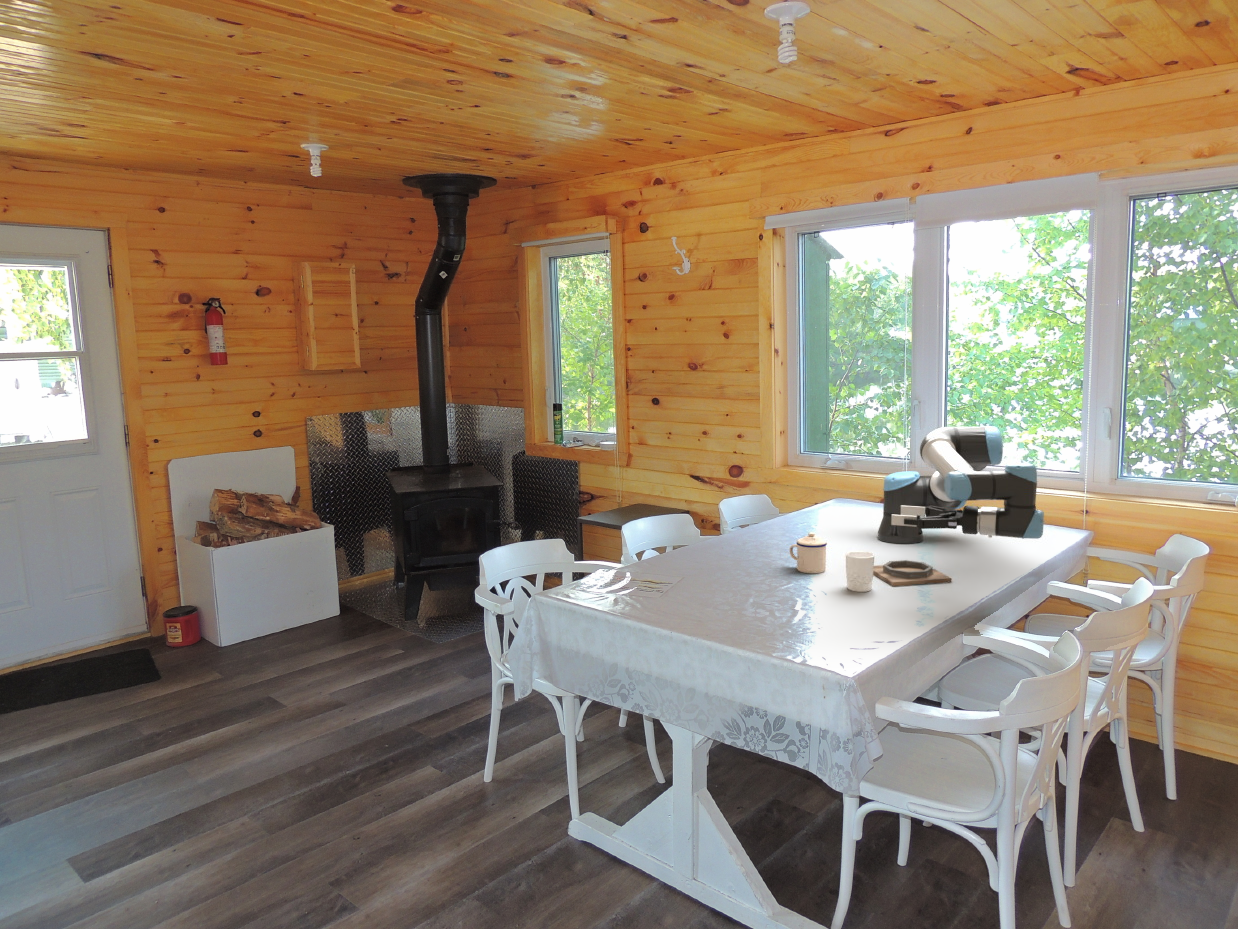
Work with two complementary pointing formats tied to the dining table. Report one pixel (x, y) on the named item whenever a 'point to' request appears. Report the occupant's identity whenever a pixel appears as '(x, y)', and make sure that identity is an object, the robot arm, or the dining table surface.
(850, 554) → the white cup
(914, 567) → the ring holder
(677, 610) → the dining table surface
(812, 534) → the teacup with lid
